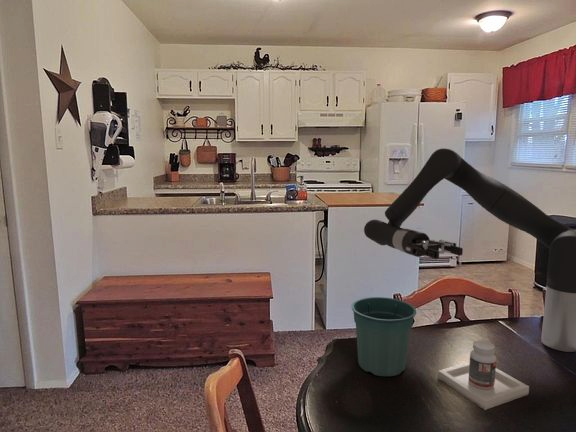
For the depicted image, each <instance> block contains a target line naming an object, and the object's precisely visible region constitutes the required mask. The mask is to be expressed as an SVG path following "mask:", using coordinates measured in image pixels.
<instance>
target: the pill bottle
mask: <svg viewBox="0 0 576 432" xmlns="http://www.w3.org/2000/svg"><path fill="white" fill-rule="evenodd" d="M472 349H473V350H471V351H470V353H469V354H470V355H469V362H470V363H469V382H470V383H471V384H472V385H473V386H475V387H477V388H481V389H491V388H493V387H494V383H495V370H496V368H497V357H496V354H494V353H495V352H496V351H495V350H496V346H495V345H494V344H493V343H492V342H490V341H487V340H481V339H480V340H475V341H473V343H472Z"/></svg>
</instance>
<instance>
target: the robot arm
mask: <svg viewBox="0 0 576 432" xmlns="http://www.w3.org/2000/svg"><path fill="white" fill-rule="evenodd" d="M444 179H445V180H446V181H448V182H450V183H452V184H453V185H455V186H457V187H458V188H460V189H462V190H463V191H464V192H465V193H467V194H468V195H469V196H470V197H471V198H472V199H473V200H474V202H476V203H477V204H478V205H480V206H481V207H482V208H483V209H484V210H485V211H487V212H488V213H490V214H491V215H493V216H494V217H496V218H497V219H498V220H500V221H501V222H503V223H504V224H507V225H509V226H511V227H513V228H515V229H518V230H520V231H521V232H522V231H523V232H525V233H527V234H528V235H530V236H532V237H533V238H534V239H536V240H538V241H539V242H540V243H542V244H543V246H545V247H546V248H548V249H549V252H548V261H547V263H548V264H547V271H546V274H547V275H546V290H545V299H544V310H543V317H542V318H543V319H542V328H541V329H542V330H541V339H540V340H541V341H540V342H541V343H542V344H543V345H544V346H547V348H551V349H553V350H557V351H559V352H560V351H561V352H566V353H567V352H568V353H570V352H571V353H572V352H576V230H575V229H573V228H571V227H569V226H567V225H566V224H563V223H562V222H560V221H558V220H556V219H554V218H553V217H551V216H549V215H548V214H546V213H545V212H544V211H543V210H541V209H540V208H539V207H538V206H536V205H535V204H533V203H532V202H531V201H530V200H528V199H527V198H526V197H524V196H523V195H521V194H520V193H519V192H517V191H515V190H514V189H513V188H511V187H509V186H508V185H506V184H504V183H502V182H501V181H500V180H497V179H495V178H493V177H491V176H489V175H486V174H484V173H482V172H481V171H480V170H477V169H476V168H475V167H473V165H472V164H470V163H468V162H467V161H466V160H465V158H463V157H462V156H461V155H459V154H458V153H457V152H456V151H455V150H453V149H451V148H448V147H443V148H442V147H440V148H438V149H436V150H435V151H433V153H432V154H431V155H430V157H429V158H428V159H427V160H426V162H425V164H424V165H423V167H422V168H421V169H420V171H419V173H418V174H417V175H416V176H415V178H414V179H413V180H412V181H411V182H410V183H409V185H408V186H407V187H406V188H405V189H404V190H403V191H402V193H400V194H399V195H398V197H397V198H396V199H395V200H394V201H393V202H392V203H391V204H389V206H388V207H387V208H386V210H385V211H384V216H385V218H387V220H388V222H384V221H382V220H379V219H370V220H369V221H367V222H366V223H365V225H364V228H363V232H364V235H365V237H366V238H368V239H370V240H371V241H373V242H375V243H376V244H378V245H380V246H388V247H389V248H392V249H396V250H399V252H402V253H405V254H408V255H410V256H414V257H418V258H421V257H425V258H427V257H429V258H432V259H435V260H438V259H439V258H440V254H441V255H442V254H444V253H447V254H452V255H456V256H459V257H460V256H463V251H464V249H463V247H460V246H457V242H452V241H448V240H444V239H439V241H438V240H436V239H430V237H429V235H428V234H427V233H425V232H422V231H418V230H414V229H411V228H403V227H401V226H402V225H403V223H404V222H405V221H406V220H407V219H408V218H409V217H410V216H411V215H412V214H413V213H414V211H416V210H417V208H418V207H419V206H420V204H421V202H422V201H423V200H424V199H425V197H426V196H427V194H428V193H430V191H431V190H432V189H433V188H434V187H435V186H436V185H437V184H439V183H440V182H441V181H443V180H444ZM440 249H441V250H440Z"/></svg>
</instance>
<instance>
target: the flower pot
mask: <svg viewBox="0 0 576 432" xmlns="http://www.w3.org/2000/svg"><path fill="white" fill-rule="evenodd" d="M350 306H351V310H352V311H353V319H354V320H353V321H354V323H355V332H356V334H355V335H356V346H357V347H356V349H357V363H358V366H359V367H360V368H361V370H363V371H365V372H366V373H368V372H370V373H372V375H374V376H378V377H394V376H398V375H400V374H401V373H402V372H403V371H405V369H406V364H407V363H406V362H407V356H408V348H409V342H410V336H411V330H412V327H413V324H414V318H415V317H416V314H417V308H416V307H415V306H414V305H412V304H411V303H409V302H406V301H405V300H404V301H403V300H401V299H396V298H392V297H383V296H380V297H378V296H375V297H374V296H373V297H372V296H371V297H363V298H360V299H357V300H355V301H353V302H352V304H351V305H350Z"/></svg>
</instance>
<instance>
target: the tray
mask: <svg viewBox="0 0 576 432" xmlns="http://www.w3.org/2000/svg"><path fill="white" fill-rule="evenodd" d="M469 363H470V361H468V362H467V361H466V362H464V363H460V364H457V365H453V366H450V367H447V368H443V369H439V370H437V371H438V372H437V378H438V379H439V380H440V381H441V382H443V383H444V384H446V385H448V386H449V387H450V388H452V389H453V390H455V391H457V392H458V394H461V395H462V396H464V397H465V398H466V399H468V401H469V400H470V401H471V402H472V403H473V404H476V406H478V407H480V408H481V409H483V410H484V411H487V410H488V409H491V408H492V409H493V408H494V407H497V406H500V405H502V404H505V403H509V402H511V401H514V400H517V399H520V398H523V397H526V396H528V395H529V391H530V386H529V385H528V384H526V383H524V382H521V381H520V380H518V379H516V378H514V377H512V376H511V375H509V374H508V373H506V372H504V371H502V370H501V369H499V368H497V367H496V370H495V383H494V387H493V388H491V389H481V388H477V387H475V386H473V385H472V384H471V383H470V382H469Z"/></svg>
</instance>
